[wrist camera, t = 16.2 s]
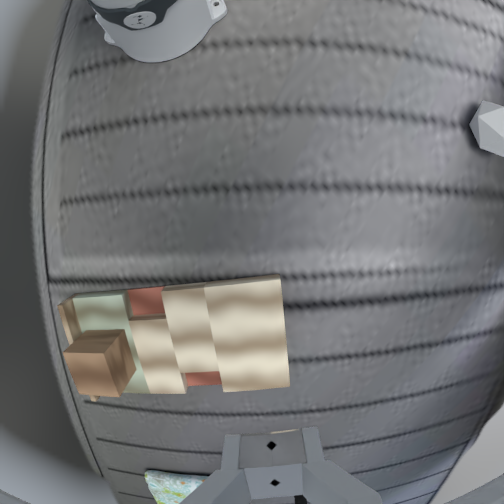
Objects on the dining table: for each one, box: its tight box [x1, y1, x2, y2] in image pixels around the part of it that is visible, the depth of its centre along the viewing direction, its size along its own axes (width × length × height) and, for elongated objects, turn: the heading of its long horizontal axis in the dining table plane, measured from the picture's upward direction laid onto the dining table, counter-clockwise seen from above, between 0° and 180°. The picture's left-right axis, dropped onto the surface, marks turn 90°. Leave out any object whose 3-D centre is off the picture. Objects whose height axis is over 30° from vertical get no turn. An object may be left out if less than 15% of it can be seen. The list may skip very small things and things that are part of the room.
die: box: [469, 101, 504, 157], centre depth 34 cm, size 8×9×10 cm
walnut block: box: [63, 329, 137, 397], centre depth 40 cm, size 7×7×8 cm
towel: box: [145, 470, 209, 504], centre depth 52 cm, size 18×21×5 cm
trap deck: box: [57, 274, 290, 401], centre depth 43 cm, size 17×32×6 cm, turn 97°
